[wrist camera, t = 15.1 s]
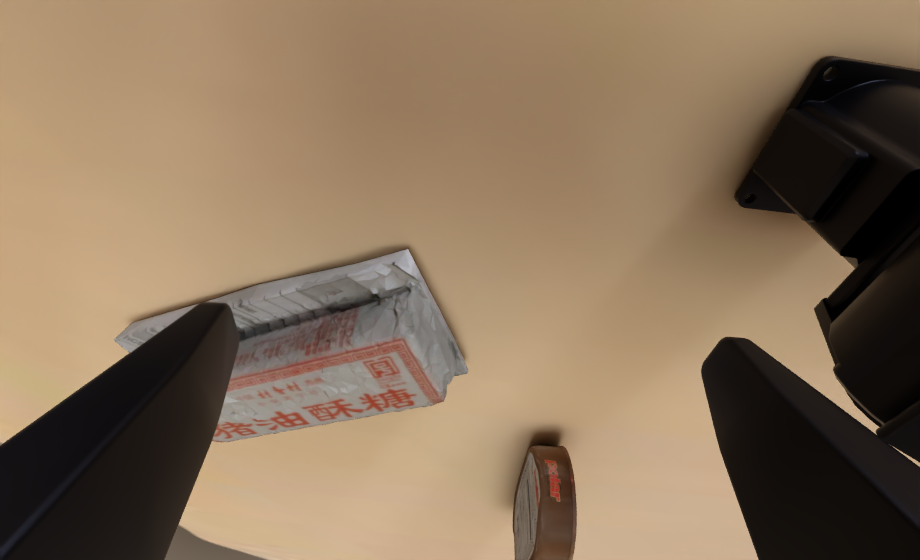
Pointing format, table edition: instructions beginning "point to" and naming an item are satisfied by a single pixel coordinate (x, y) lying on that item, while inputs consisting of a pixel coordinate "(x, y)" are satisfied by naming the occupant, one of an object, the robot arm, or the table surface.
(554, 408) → the table surface
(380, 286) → the packaged product
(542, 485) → the tin
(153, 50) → the table surface
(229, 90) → the table surface
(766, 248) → the table surface
